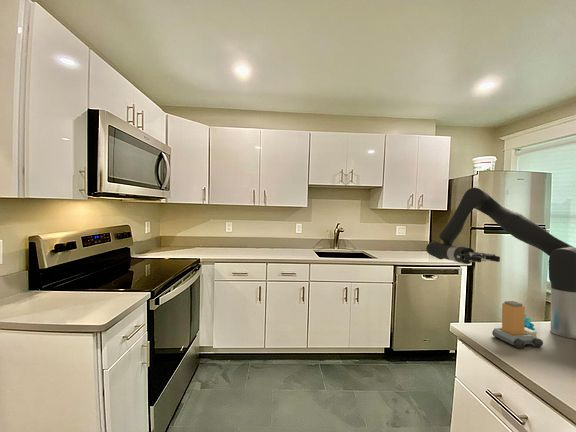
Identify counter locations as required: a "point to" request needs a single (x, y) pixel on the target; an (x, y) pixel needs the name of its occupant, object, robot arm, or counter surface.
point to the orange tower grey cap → (513, 318)
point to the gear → (528, 323)
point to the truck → (519, 338)
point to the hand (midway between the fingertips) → (489, 259)
